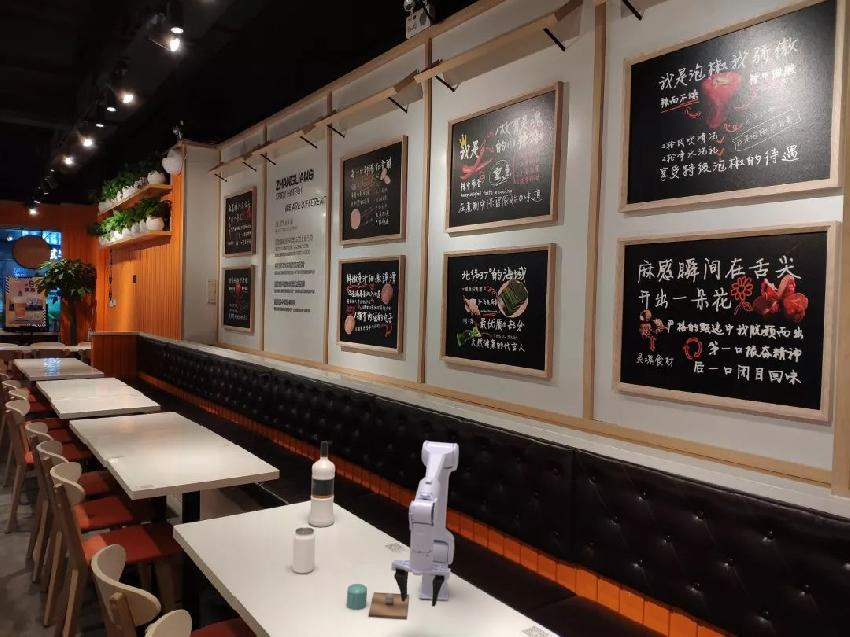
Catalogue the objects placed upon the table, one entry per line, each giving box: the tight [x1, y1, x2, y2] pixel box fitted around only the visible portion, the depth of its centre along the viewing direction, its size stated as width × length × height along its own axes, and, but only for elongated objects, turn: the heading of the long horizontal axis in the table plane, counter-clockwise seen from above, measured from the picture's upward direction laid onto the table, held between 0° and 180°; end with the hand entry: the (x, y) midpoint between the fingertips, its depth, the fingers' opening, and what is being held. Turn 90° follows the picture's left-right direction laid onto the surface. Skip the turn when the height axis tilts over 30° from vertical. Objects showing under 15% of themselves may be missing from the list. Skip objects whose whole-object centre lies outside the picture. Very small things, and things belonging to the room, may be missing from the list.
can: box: [291, 526, 316, 575], centre depth 191 cm, size 6×6×12 cm
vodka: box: [307, 440, 336, 528], centre depth 228 cm, size 9×9×30 cm
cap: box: [346, 583, 368, 610], centre depth 171 cm, size 5×5×4 cm
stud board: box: [367, 591, 410, 620], centre depth 171 cm, size 12×10×4 cm
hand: (419, 602), depth 155 cm, fingers open, 7 cm apart
